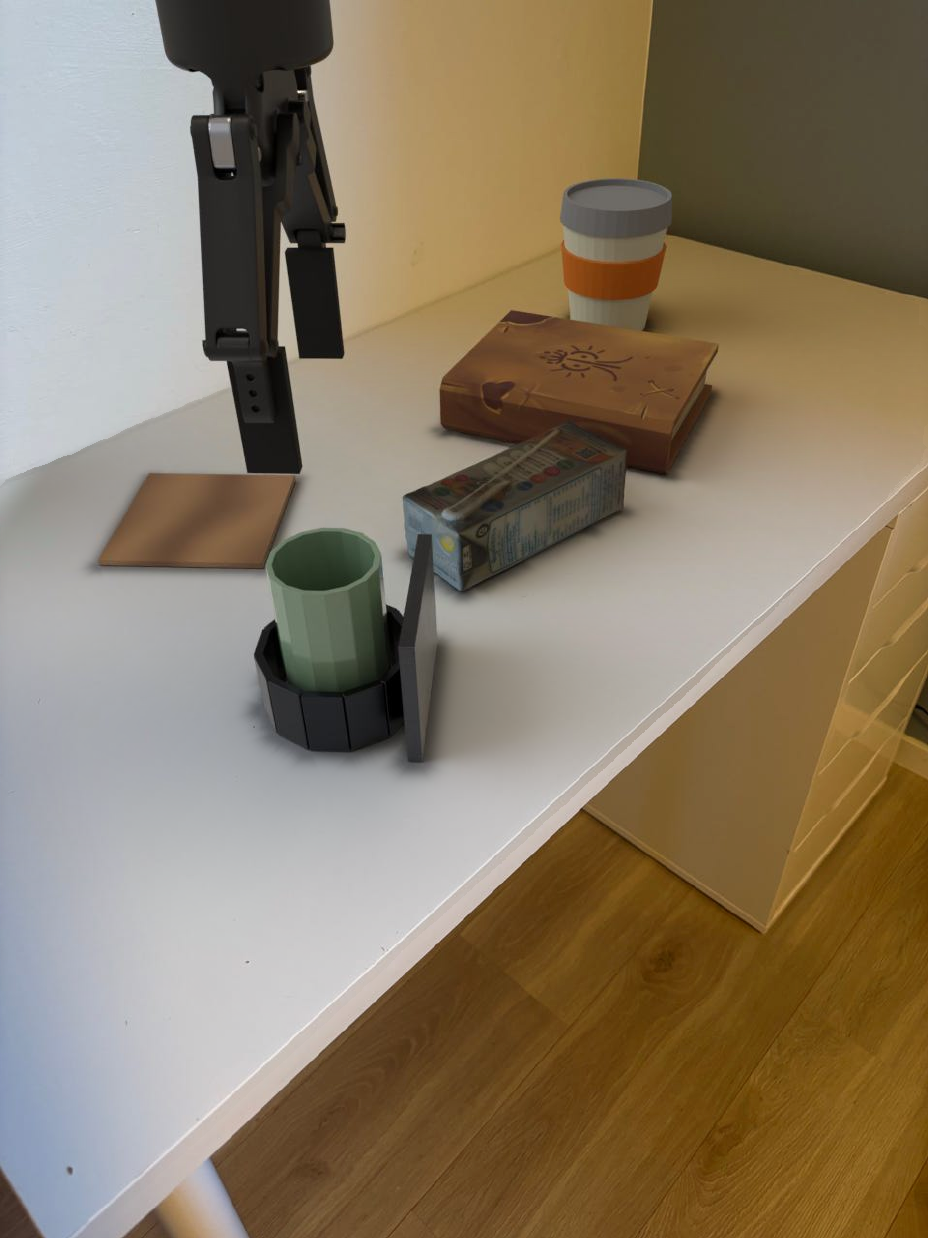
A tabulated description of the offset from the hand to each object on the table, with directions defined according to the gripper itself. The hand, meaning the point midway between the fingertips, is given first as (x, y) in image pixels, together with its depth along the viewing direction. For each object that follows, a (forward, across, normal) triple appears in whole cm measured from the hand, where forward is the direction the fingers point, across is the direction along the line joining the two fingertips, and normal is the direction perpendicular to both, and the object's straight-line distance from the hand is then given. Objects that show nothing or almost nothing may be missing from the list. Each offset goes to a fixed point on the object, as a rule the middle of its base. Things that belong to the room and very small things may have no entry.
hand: (300, 408), depth 56 cm
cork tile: (+23, +22, +16) cm, 36 cm away
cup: (+23, 0, 0) cm, 23 cm away
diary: (+23, +43, -18) cm, 52 cm away
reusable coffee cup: (+23, +66, -22) cm, 73 cm away
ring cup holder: (+23, 0, 0) cm, 23 cm away
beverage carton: (+23, +21, -12) cm, 33 cm away
